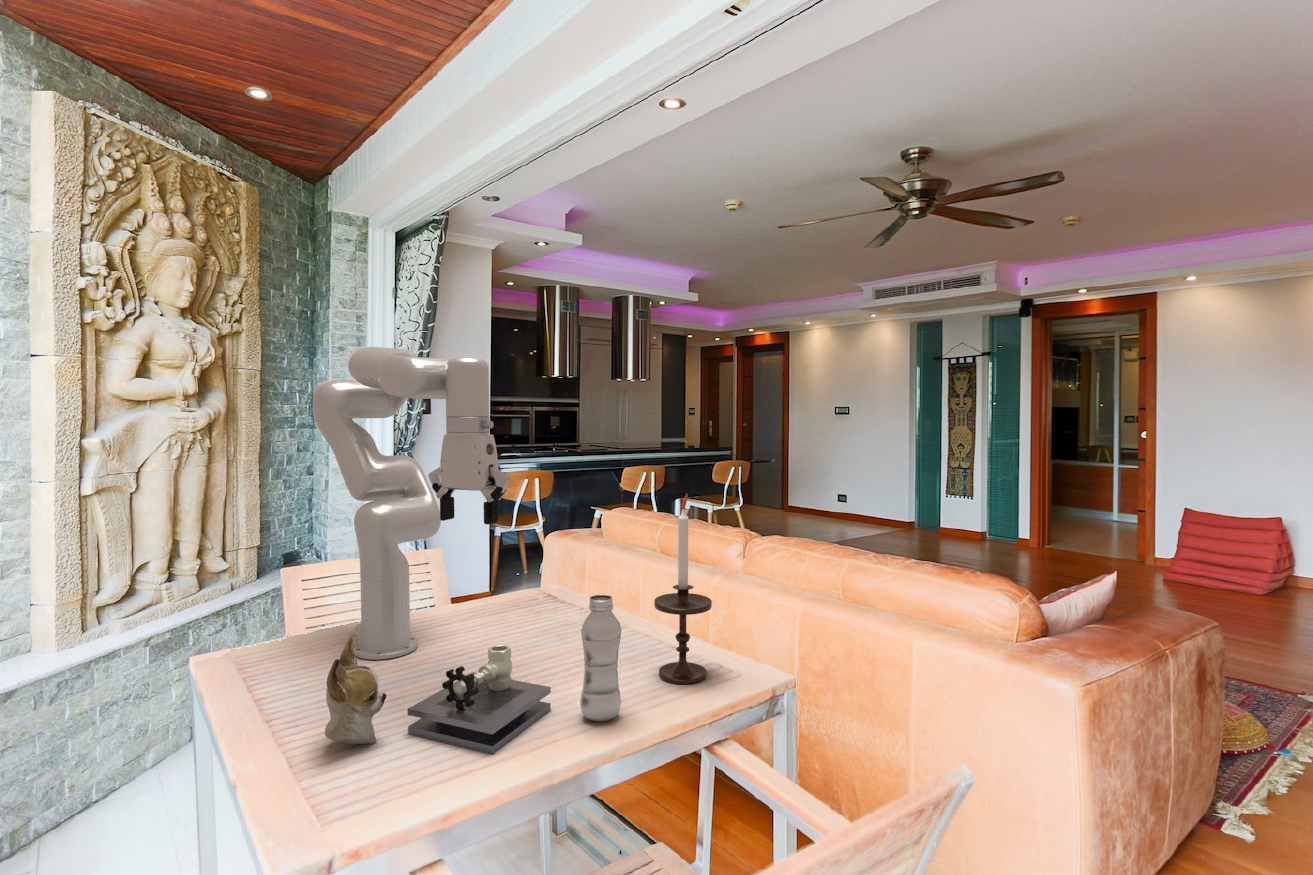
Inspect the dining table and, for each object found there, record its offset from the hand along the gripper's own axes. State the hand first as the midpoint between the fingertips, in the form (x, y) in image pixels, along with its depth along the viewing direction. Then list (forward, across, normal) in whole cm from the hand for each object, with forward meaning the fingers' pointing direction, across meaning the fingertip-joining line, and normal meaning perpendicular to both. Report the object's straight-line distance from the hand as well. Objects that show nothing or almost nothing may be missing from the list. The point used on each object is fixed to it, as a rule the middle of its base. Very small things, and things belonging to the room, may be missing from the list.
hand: (468, 521), depth 125 cm
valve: (+26, -11, +10) cm, 30 cm away
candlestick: (+31, -34, -20) cm, 50 cm away
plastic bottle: (+31, -28, +2) cm, 41 cm away
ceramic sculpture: (+31, +2, +25) cm, 39 cm away
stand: (+30, -11, +11) cm, 34 cm away
